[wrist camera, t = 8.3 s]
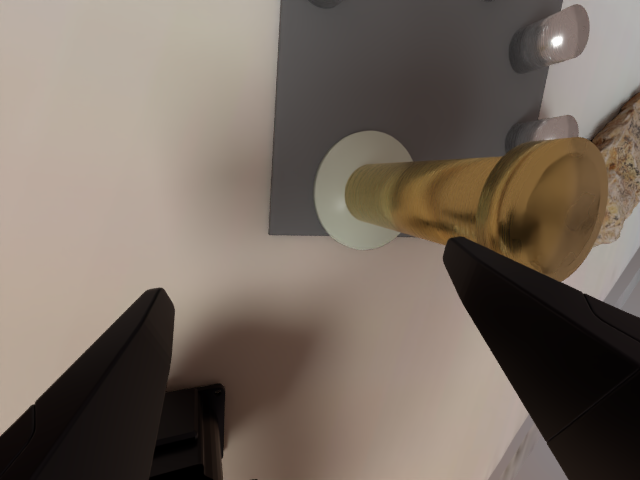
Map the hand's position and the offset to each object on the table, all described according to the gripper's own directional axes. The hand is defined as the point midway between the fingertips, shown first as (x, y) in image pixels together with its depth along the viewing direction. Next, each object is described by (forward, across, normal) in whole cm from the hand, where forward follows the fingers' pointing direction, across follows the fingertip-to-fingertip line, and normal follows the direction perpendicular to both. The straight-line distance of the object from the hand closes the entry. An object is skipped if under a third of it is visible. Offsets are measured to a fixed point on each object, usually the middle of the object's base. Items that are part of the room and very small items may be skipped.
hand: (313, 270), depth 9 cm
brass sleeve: (+12, -6, +5) cm, 14 cm away
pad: (+13, -6, +5) cm, 15 cm away
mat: (+17, -13, 0) cm, 22 cm away
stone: (+20, -36, +11) cm, 43 cm away
